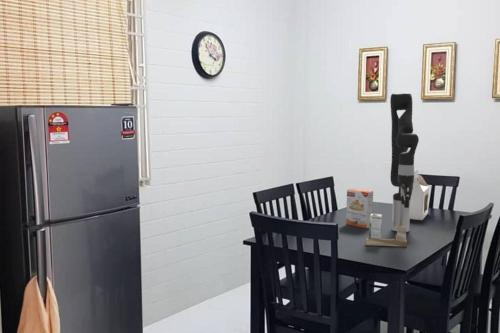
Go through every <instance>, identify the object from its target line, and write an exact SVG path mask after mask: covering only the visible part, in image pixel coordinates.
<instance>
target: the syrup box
mask: <svg viewBox="0 0 500 333" xmlns="http://www.w3.org/2000/svg"><path fill="white" fill-rule="evenodd" d="M382 222H383V214H380V213H372V214H371V215H370V224H369V228H368V230H369V231H368V238H376V239H382V226H383V224H382Z"/></svg>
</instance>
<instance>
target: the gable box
mask: <svg viewBox="0 0 500 333" xmlns="http://www.w3.org/2000/svg"><path fill="white" fill-rule="evenodd" d="M419 173H420V172H419V170H415V171H414V183H413V187H412V195H411V200H410V220H416V221H423V220H424V219H425V218H426V216H427V215H428V213H429V198H430V196H429V195H430V194H429V191H430V186H429V185H428V184H427V182H426V181H425V179H424V177H423V176H422V175H421V174H419Z"/></svg>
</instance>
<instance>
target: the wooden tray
mask: <svg viewBox="0 0 500 333" xmlns="http://www.w3.org/2000/svg"><path fill="white" fill-rule="evenodd" d="M365 246H382V247H384V246H385V247H408V240H407V232H406V226H397V231H396V233H395V238H381V239H376V238H369V237H366V238H365Z"/></svg>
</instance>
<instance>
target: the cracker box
mask: <svg viewBox="0 0 500 333" xmlns="http://www.w3.org/2000/svg"><path fill="white" fill-rule="evenodd" d="M373 208H374V191H373V190H372V191H371V190H365V189H358V188H348V189H346V212H345V214H346V217H345V221H346V225H347V226H352V227H356V228H362V229H366V230H367V229H369V224H370V215H371V214H374V213H373Z"/></svg>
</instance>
